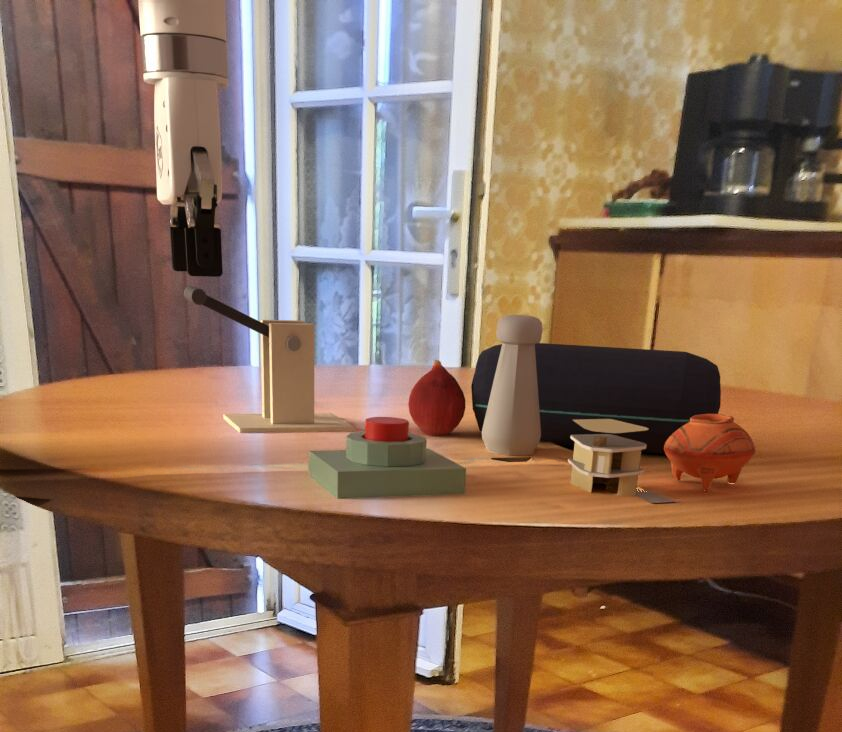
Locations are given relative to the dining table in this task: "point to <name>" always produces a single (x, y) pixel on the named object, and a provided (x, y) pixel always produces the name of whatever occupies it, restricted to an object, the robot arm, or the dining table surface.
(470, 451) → the dining table surface
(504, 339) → the salt shaker
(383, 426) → the button
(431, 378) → the onion
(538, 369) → the portable speaker
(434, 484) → the socket block
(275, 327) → the wooden lever stand
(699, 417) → the pot
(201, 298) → the lever switch
